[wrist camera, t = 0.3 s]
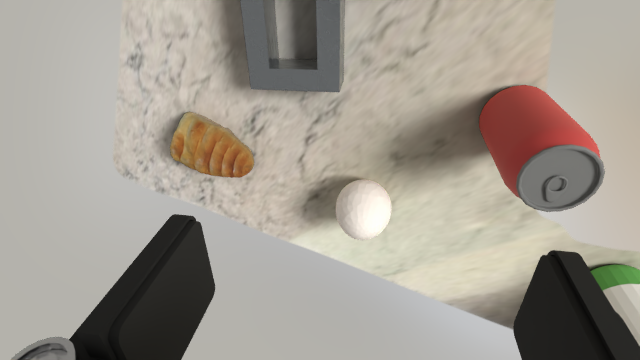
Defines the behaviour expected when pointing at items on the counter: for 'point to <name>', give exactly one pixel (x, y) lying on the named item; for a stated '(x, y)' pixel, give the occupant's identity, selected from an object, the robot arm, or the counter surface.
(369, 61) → the counter surface
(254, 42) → the gray rectangular frame
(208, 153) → the pastry
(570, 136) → the beer can
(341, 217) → the egg
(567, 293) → the robot arm
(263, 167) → the counter surface
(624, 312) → the wine bottle
